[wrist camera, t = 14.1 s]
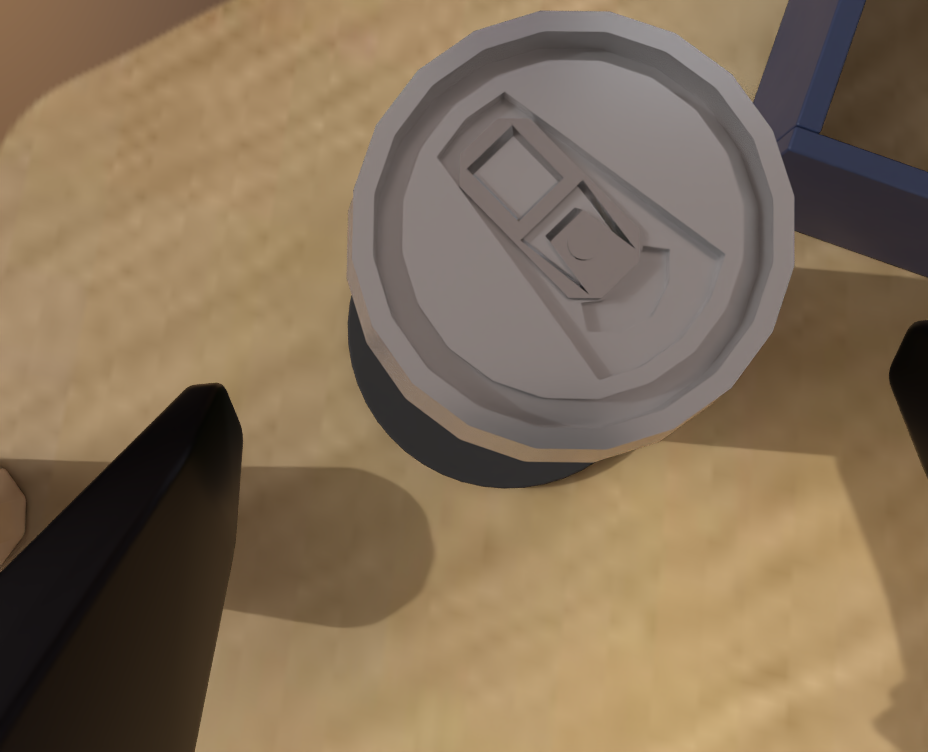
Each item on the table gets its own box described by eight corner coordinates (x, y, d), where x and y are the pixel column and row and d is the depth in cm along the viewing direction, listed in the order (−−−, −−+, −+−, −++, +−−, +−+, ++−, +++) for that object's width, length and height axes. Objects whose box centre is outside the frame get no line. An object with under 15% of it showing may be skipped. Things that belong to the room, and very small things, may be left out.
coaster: (726, 336, 20) (734, 333, 20) (500, 551, 20) (501, 556, 20) (511, 112, 21) (513, 104, 20) (286, 323, 20) (281, 321, 20)
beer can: (372, 330, 20) (228, 222, 8) (510, 198, 20) (575, -110, 8) (506, 469, 20) (569, 576, 8) (644, 334, 20) (918, 232, 8)
